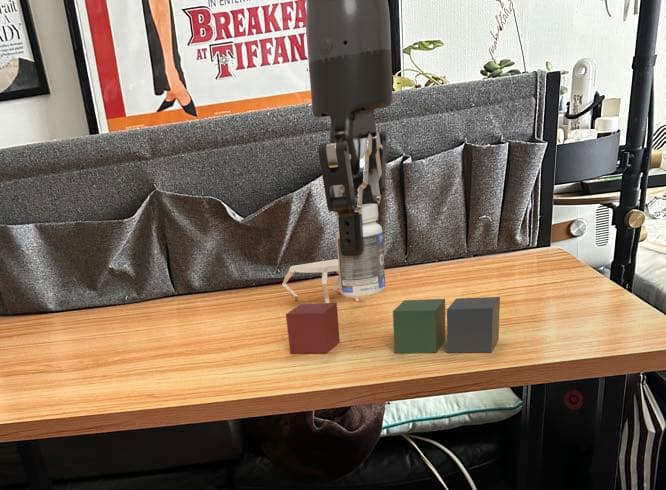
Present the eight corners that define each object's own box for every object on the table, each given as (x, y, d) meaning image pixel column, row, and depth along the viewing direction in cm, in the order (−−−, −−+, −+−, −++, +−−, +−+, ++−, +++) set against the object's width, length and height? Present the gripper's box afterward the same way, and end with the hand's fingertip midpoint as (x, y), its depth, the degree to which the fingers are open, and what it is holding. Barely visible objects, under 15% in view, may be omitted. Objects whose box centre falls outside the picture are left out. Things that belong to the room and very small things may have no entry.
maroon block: (339, 341, 83) (336, 302, 80) (326, 353, 79) (323, 313, 77) (304, 342, 84) (300, 303, 82) (290, 353, 81) (285, 314, 79)
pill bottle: (392, 292, 75) (388, 204, 70) (348, 300, 74) (342, 212, 70) (376, 285, 79) (372, 201, 74) (335, 292, 78) (328, 208, 74)
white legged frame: (368, 289, 105) (366, 253, 102) (363, 302, 98) (361, 264, 95) (287, 296, 107) (283, 262, 105) (277, 310, 100) (272, 273, 98)
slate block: (498, 339, 75) (499, 296, 73) (491, 352, 72) (492, 307, 70) (455, 340, 77) (456, 298, 75) (446, 352, 74) (446, 309, 72)
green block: (445, 340, 78) (445, 298, 75) (436, 353, 74) (435, 309, 72) (405, 341, 79) (403, 300, 77) (394, 353, 76) (392, 310, 74)
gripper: (364, 43, 59) (375, 262, 67) (409, 46, 70) (414, 234, 78) (281, 59, 62) (301, 266, 70) (336, 60, 73) (348, 239, 81)
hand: (360, 249), depth 74 cm, fingers closed on pill bottle, 4 cm apart
